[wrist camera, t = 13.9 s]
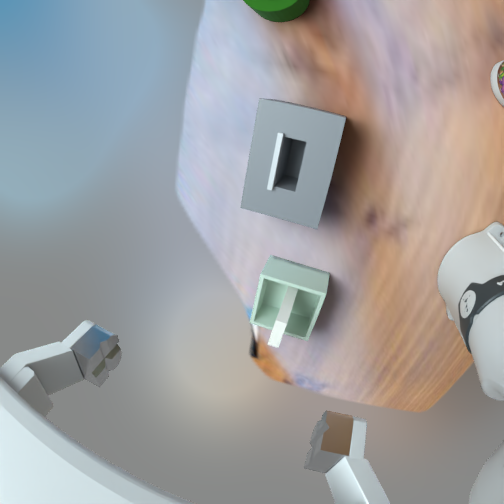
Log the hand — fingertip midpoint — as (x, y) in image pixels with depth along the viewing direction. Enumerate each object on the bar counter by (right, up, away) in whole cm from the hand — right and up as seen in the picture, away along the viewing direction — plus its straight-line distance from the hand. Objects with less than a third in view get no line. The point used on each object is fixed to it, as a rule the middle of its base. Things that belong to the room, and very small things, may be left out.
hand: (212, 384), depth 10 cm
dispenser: (+8, +18, +31) cm, 37 cm away
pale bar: (+8, -2, +41) cm, 42 cm away
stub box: (+8, -2, +42) cm, 42 cm away
